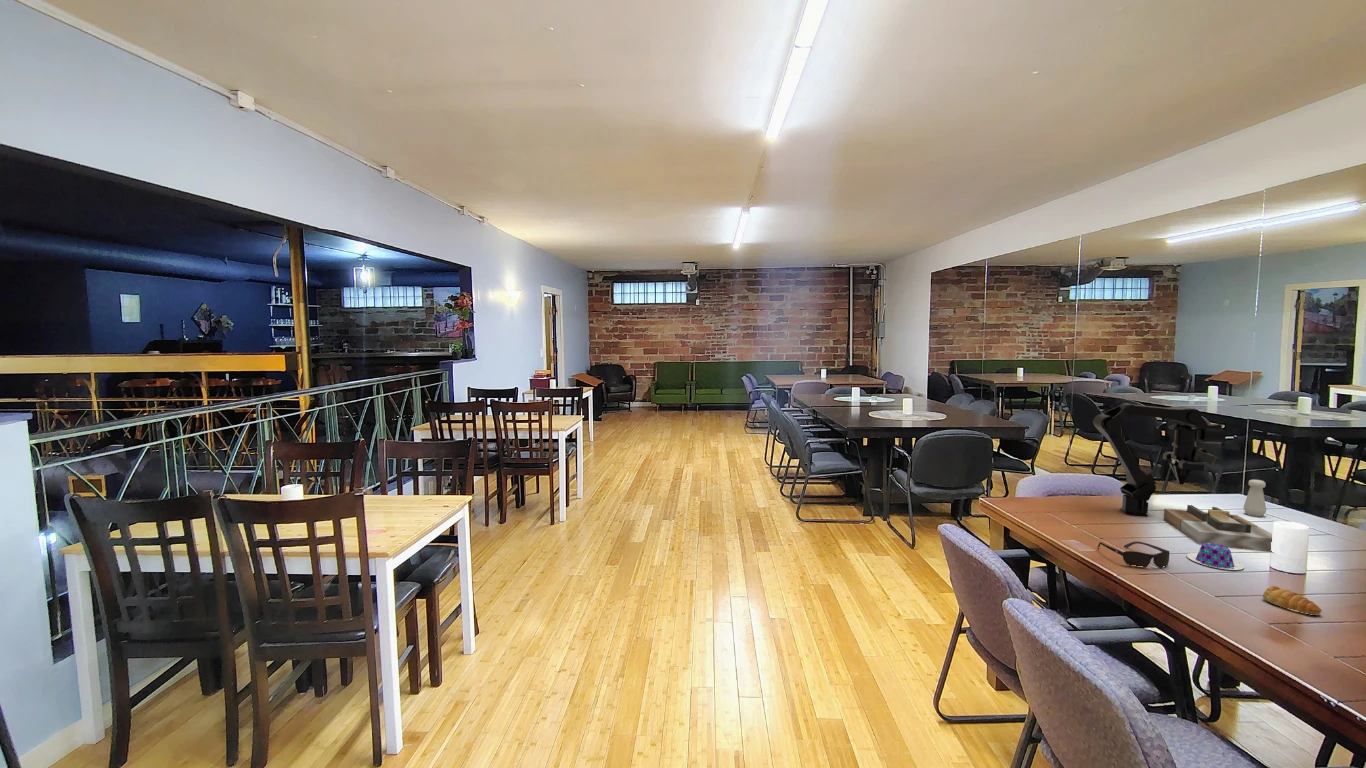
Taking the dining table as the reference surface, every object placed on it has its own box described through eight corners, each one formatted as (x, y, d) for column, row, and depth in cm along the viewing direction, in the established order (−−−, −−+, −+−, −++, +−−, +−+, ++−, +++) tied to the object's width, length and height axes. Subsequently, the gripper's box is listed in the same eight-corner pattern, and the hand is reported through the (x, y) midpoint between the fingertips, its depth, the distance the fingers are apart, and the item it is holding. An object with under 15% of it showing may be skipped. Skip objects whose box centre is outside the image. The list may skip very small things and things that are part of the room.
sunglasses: (1129, 570, 154) (1130, 553, 153) (1088, 548, 170) (1088, 532, 169) (1176, 569, 154) (1178, 552, 153) (1131, 547, 170) (1132, 532, 169)
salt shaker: (1270, 517, 195) (1274, 482, 194) (1254, 517, 195) (1257, 482, 194) (1254, 512, 201) (1257, 478, 199) (1238, 512, 201) (1241, 478, 199)
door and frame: (1199, 543, 171) (1200, 524, 171) (1163, 519, 194) (1164, 501, 193) (1282, 552, 164) (1284, 531, 164) (1235, 526, 186) (1237, 507, 186)
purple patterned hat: (1175, 556, 163) (1176, 539, 162) (1208, 553, 165) (1209, 537, 164) (1221, 574, 151) (1223, 555, 150) (1255, 570, 153) (1257, 552, 152)
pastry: (1328, 615, 128) (1330, 600, 128) (1309, 619, 127) (1310, 604, 126) (1276, 597, 137) (1278, 582, 137) (1258, 600, 136) (1259, 586, 135)
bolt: (1220, 527, 173) (1221, 516, 173) (1207, 519, 181) (1208, 509, 180) (1241, 529, 172) (1242, 518, 171) (1226, 521, 179) (1227, 511, 179)
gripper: (1227, 449, 183) (1223, 493, 184) (1202, 439, 200) (1198, 480, 201) (1184, 446, 188) (1181, 489, 189) (1163, 436, 204) (1160, 477, 206)
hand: (1181, 484), depth 196 cm, fingers closed
